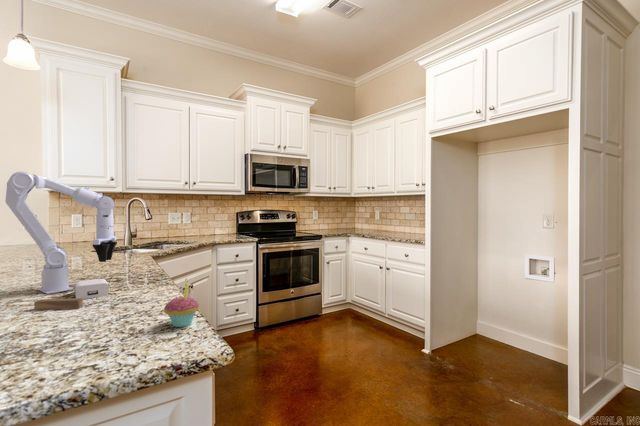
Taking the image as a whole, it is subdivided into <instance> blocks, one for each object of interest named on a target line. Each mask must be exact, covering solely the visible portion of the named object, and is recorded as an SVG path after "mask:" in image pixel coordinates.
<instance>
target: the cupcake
mask: <svg viewBox="0 0 640 426" xmlns="http://www.w3.org/2000/svg"><path fill="white" fill-rule="evenodd" d="M184 287H185V288H184V293H183V294H184V295H183V297H176V298H173V299H171V300H170V301H168V302H167V303H166V304H165V306H164V308H163V312H164V313H165V314H166V315H168V316H169V318H170V322H171V324H172V326H173V327H176V328H183V327H188V326H190V325H192V323H193V319H194V317H195V314H196V312H198V310H199V306H200V304H199V303H198V301H197V300H195V298H192V297H190V296H188V289H189V280H187V282H186V283H185V286H184Z"/></svg>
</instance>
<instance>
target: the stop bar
mask: <svg viewBox="0 0 640 426" xmlns="http://www.w3.org/2000/svg"><path fill="white" fill-rule="evenodd" d="M83 300H84V299H83V298H76V297H75V298H52V299H51V298H50V299H49V298H48V299H39V300H35V301H34V302H33V303H34V311H47V310H70V309H71V310H72V309H80V308H82V307H83V305H84V304H83V303H84V301H83Z"/></svg>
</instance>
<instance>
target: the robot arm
mask: <svg viewBox="0 0 640 426" xmlns="http://www.w3.org/2000/svg"><path fill="white" fill-rule="evenodd" d="M34 188H35V189H49V190H51V191H55V192H58V193H61V194H64V195H67V196H71V197H72V200H73V201H74V202H76V203H79V204H82V205H85V206H87V207H91V208H94V207H96V217H95V220H96V222H95V224H96V232H95V234H96V237H95V238H94V239H92V247H93V249H94V250H95V253H96V256H97V258H98V262H99V263H106V262H107V261H111V260H112V257H113V254H114V250H115V248H116V246H117V244H118V241H117V239H118V237H117V236H116V235H114V229H115V228H114V208H115V206H116V205H115V201H114V199H112V197H110V196H108V195H107V196H106V195H103V193H102V192H99V193H98V192H97V191H96V192H95V191H93V190H90V188H89V187H87V186H85V187H83V186H82V187H77V188H74V187H72V186H69V185H66V184H65V183H64V184H63V182H60V181H56V180H54V179H52V178H49V177H45V176H42V175H37V174H35V173H34V174H33V173H32V174H31V173H29V172H27V171H16V172H14V173H12V174H11V176H10V177H9V179H8V181H7V182H6V189H5V190H6V193H5V199H4V200H5V203H6V205H7V207H8V208H9V209H10V210H11V212H12V214H13V215H14V216H15V217H16V218H17V221H19V222H20V224H21V225H22V227H23V228H24V229H25V230H26V232H27V233H28V234H29V236H30V237H31V238H32V240H33V241H34V242H35V244H36V245H37V246H38V248H39V250H40V251H41V253H42V254H43V256H44V262H45V264H43V269H42V270H41V287H40V288H38V289H37V290H38V291H40V292H41V293H44V294H47V295H48V294H54V293H60V292H64V291H71V290H73V289H74V287H71V286H69V283H70V282H69V281H70V280H69V276H70V275H69V263H67V260H68V259H67V258H68V256H67V254H68V253H67V251H66V250H65V249H64V248H63V247H61V246H60V245H58V244H57V242H55V239H53V238H52V236H51V235H50V233H49V232H48V231H47V230H46V228H45V227H44V225H43V224H42V223H41V221H40V220H39V219H38V217H37V215H36V214H35V213H34V212H33V210H32V209H31V208H30V206H29V205H28V204H27V202H26V200H27V197H28V195H29V193H30V192H31V191H32V189H34Z"/></svg>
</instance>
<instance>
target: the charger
mask: <svg viewBox="0 0 640 426" xmlns="http://www.w3.org/2000/svg"><path fill="white" fill-rule="evenodd" d="M109 288H110V287H109V283H108V282H107V280H106V279H105V278H95V279H88V280H87V279H84V280H78V281H76V282H75V283H74V295H75V298H83V300H87V299H93V298H101V297H107V296H108V295H109V292H110V291H109Z"/></svg>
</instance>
